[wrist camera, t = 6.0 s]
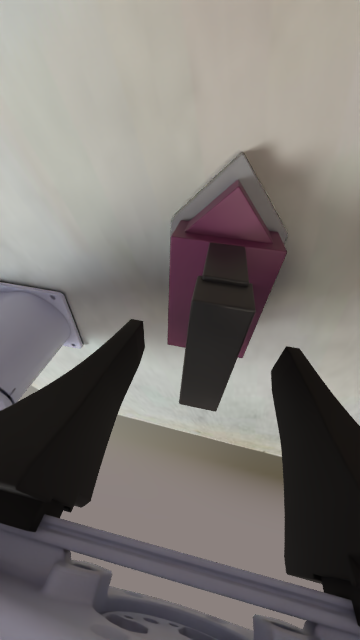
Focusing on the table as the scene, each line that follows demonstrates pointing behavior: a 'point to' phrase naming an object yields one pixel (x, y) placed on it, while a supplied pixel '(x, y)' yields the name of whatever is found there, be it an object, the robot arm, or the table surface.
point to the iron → (221, 277)
